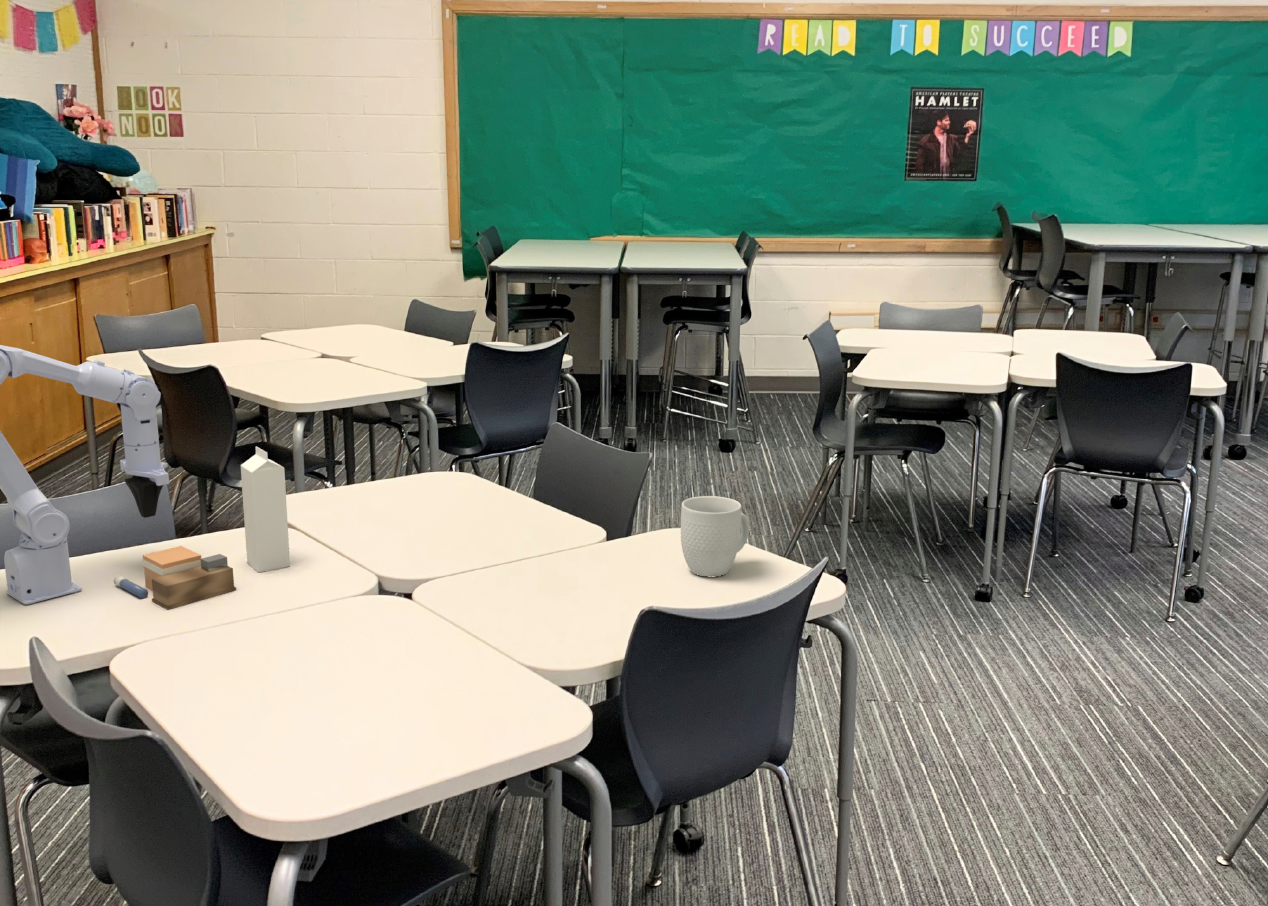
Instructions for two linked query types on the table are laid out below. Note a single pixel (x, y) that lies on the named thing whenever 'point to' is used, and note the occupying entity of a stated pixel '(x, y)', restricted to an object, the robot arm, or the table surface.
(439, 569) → the table surface
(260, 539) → the milk
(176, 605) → the podium
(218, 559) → the eraser
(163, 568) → the carton
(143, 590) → the marker
